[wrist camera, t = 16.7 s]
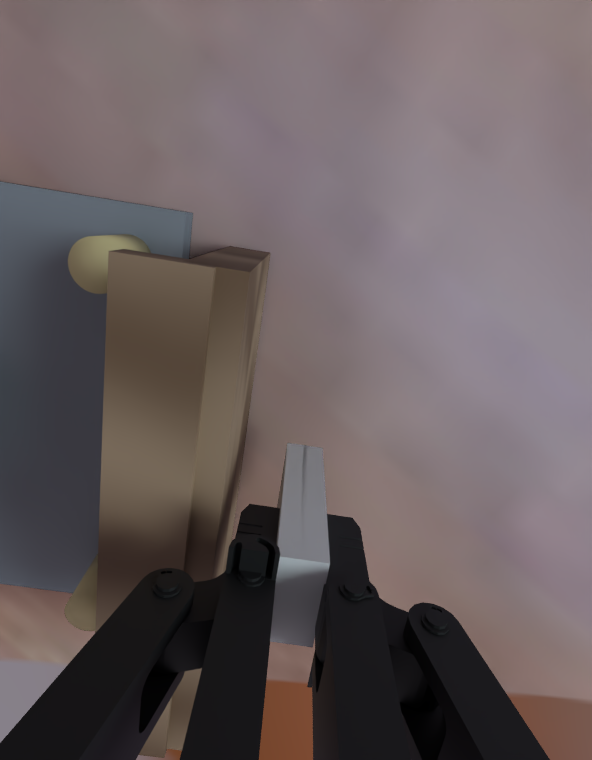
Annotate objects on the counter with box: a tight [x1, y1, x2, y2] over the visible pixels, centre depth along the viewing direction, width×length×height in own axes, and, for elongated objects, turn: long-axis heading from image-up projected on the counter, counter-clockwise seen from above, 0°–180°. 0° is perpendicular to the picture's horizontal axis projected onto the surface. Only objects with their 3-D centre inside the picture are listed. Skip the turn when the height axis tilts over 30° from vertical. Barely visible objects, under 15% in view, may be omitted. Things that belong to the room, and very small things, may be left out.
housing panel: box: [95, 246, 270, 758], centre depth 17 cm, size 16×3×8 cm, turn 171°
